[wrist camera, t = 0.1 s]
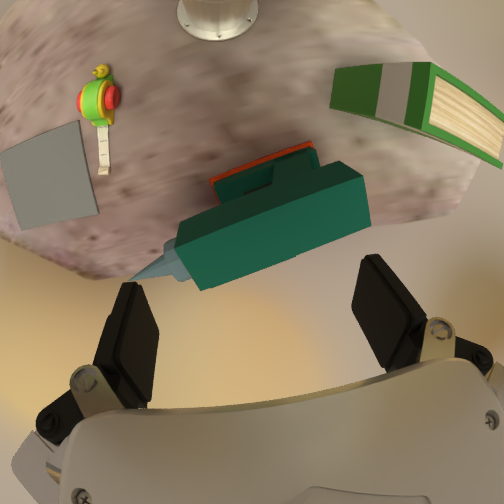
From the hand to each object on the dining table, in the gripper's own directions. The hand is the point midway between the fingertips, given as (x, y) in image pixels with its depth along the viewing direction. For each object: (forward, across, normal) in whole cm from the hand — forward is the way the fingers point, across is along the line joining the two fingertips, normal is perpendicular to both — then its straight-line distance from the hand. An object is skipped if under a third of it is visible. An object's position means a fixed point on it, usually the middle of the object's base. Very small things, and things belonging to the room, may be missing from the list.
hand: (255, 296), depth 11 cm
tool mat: (+37, +36, 0) cm, 51 cm away
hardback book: (+37, -27, -8) cm, 46 cm away
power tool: (+37, 0, +8) cm, 38 cm away
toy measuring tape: (+37, +20, -8) cm, 43 cm away
